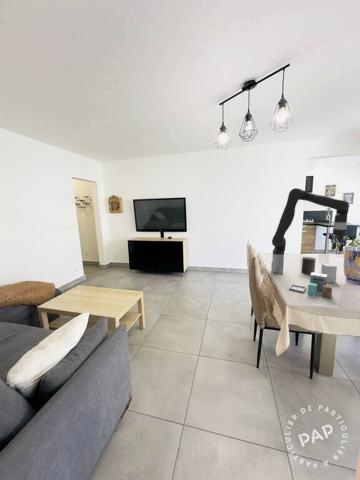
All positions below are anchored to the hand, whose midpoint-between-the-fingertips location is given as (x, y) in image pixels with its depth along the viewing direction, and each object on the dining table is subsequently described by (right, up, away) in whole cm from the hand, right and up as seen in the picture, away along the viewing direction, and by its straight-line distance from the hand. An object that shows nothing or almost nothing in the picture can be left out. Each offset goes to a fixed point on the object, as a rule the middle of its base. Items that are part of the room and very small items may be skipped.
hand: (337, 250), depth 143 cm
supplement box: (+1, -25, +10) cm, 27 cm away
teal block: (-28, -29, -13) cm, 42 cm away
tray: (-32, -28, -5) cm, 43 cm away
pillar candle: (-3, -22, +29) cm, 36 cm away
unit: (-19, -28, -6) cm, 34 cm away
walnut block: (-21, -30, -17) cm, 40 cm away
